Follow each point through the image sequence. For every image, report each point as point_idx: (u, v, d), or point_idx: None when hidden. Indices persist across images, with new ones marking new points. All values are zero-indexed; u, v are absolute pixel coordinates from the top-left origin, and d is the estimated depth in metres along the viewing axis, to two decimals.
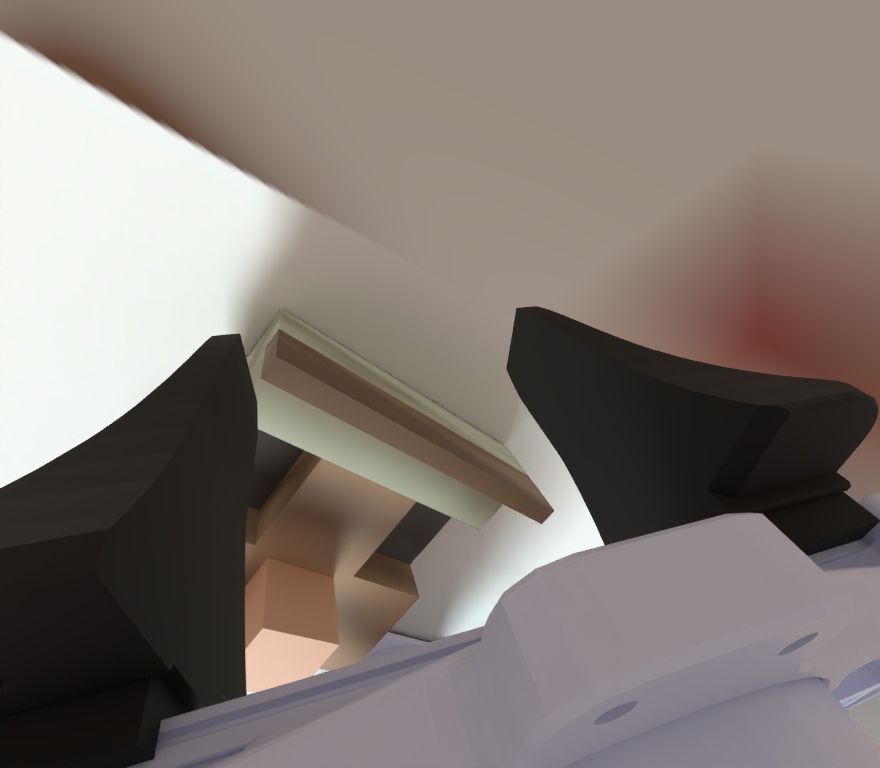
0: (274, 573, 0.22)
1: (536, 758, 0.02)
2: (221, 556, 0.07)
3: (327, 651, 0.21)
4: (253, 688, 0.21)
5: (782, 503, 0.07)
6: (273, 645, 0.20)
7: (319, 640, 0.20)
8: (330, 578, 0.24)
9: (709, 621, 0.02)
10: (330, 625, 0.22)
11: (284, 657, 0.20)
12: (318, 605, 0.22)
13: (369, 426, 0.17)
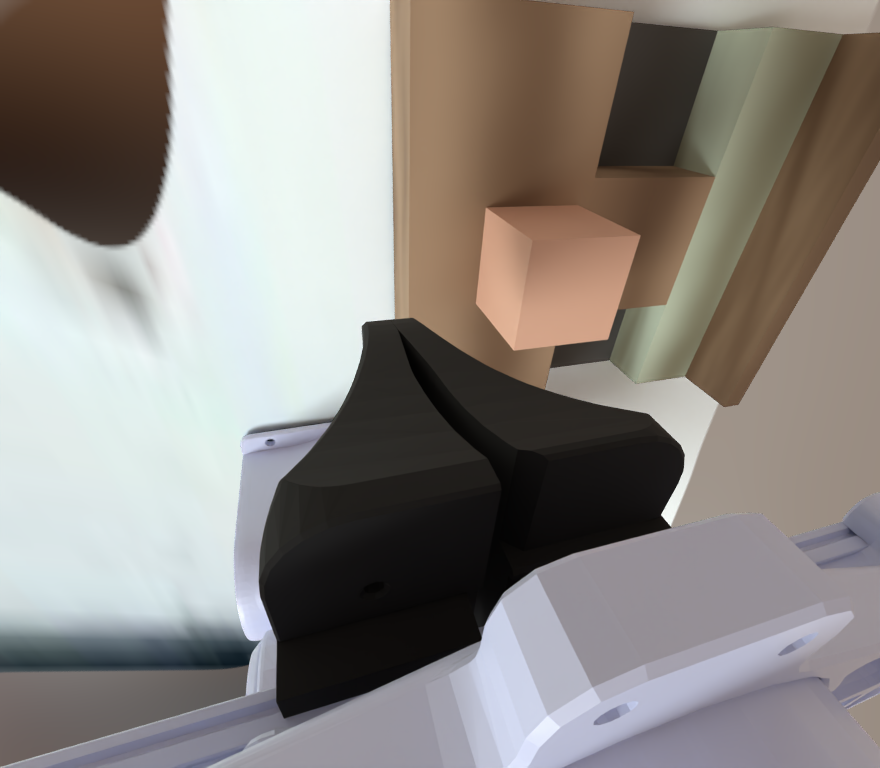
0: None
1: (536, 759, 0.02)
2: None
3: (597, 333, 0.16)
4: (529, 292, 0.14)
5: None
6: (609, 266, 0.15)
7: (615, 313, 0.16)
8: None
9: (710, 621, 0.02)
10: None
11: (588, 292, 0.15)
12: None
13: (856, 178, 0.17)
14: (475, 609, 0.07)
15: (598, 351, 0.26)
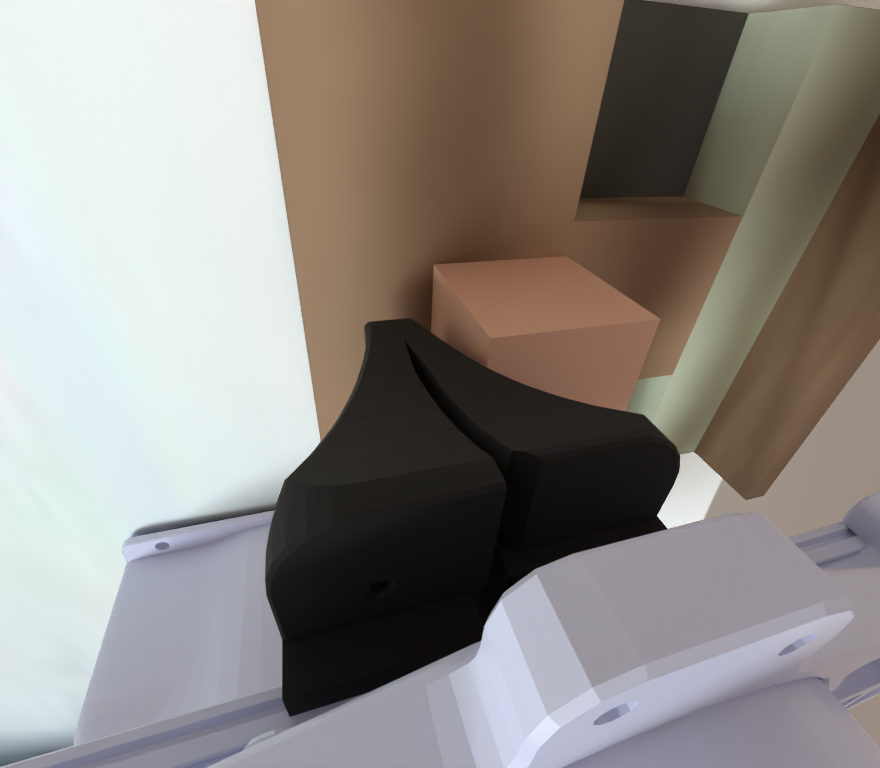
0: None
1: (536, 759, 0.02)
2: None
3: None
4: None
5: None
6: (612, 363, 0.10)
7: None
8: None
9: (709, 621, 0.02)
10: None
11: (580, 398, 0.10)
12: None
13: None
14: None
15: None
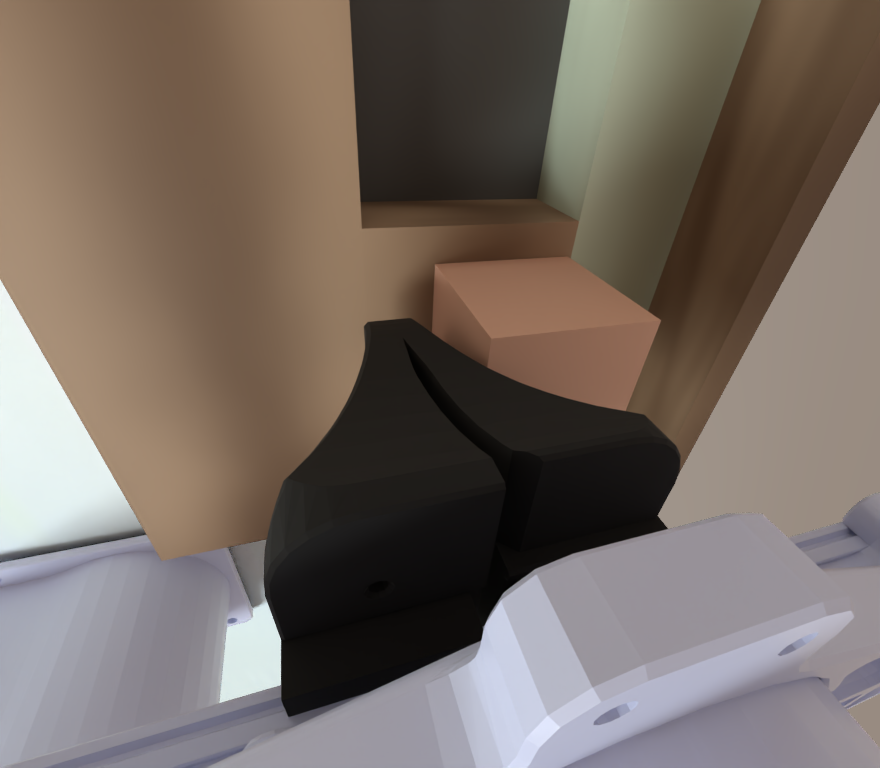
0: None
1: (534, 756, 0.02)
2: None
3: None
4: None
5: None
6: (613, 364, 0.10)
7: None
8: None
9: (709, 621, 0.02)
10: None
11: (581, 399, 0.10)
12: None
13: (789, 231, 0.10)
14: None
15: None
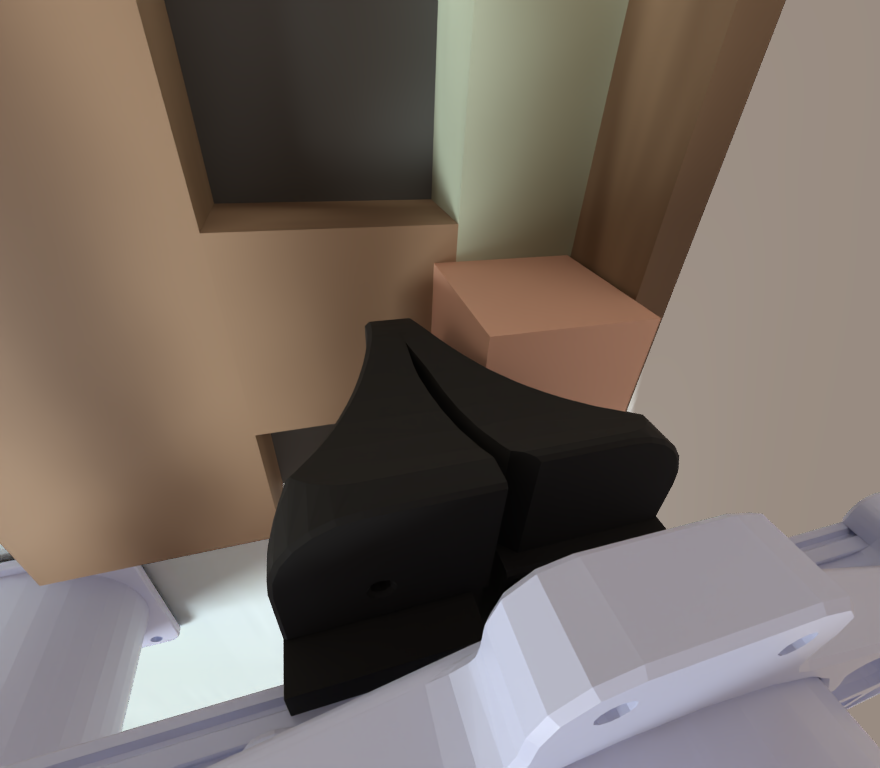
0: None
1: (534, 758, 0.02)
2: None
3: None
4: None
5: None
6: (612, 362, 0.10)
7: None
8: None
9: (709, 621, 0.02)
10: None
11: (581, 397, 0.10)
12: None
13: (669, 235, 0.09)
14: None
15: None
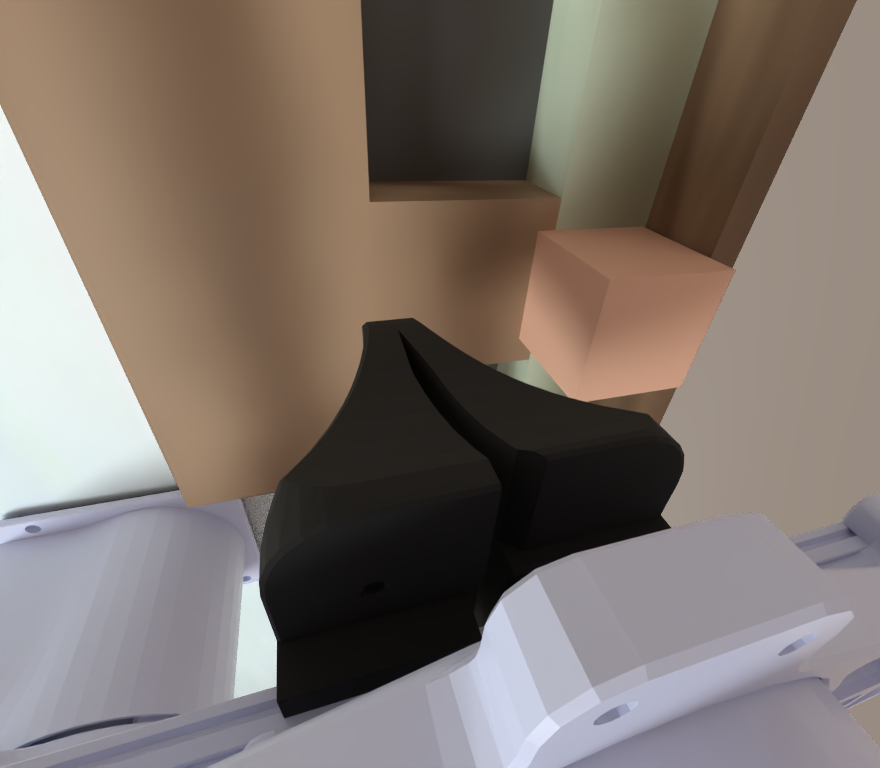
0: None
1: (536, 758, 0.02)
2: None
3: (670, 380, 0.14)
4: (599, 338, 0.12)
5: None
6: (694, 307, 0.12)
7: (693, 358, 0.14)
8: None
9: (709, 621, 0.02)
10: None
11: (666, 336, 0.13)
12: None
13: (742, 204, 0.12)
14: (475, 609, 0.07)
15: None
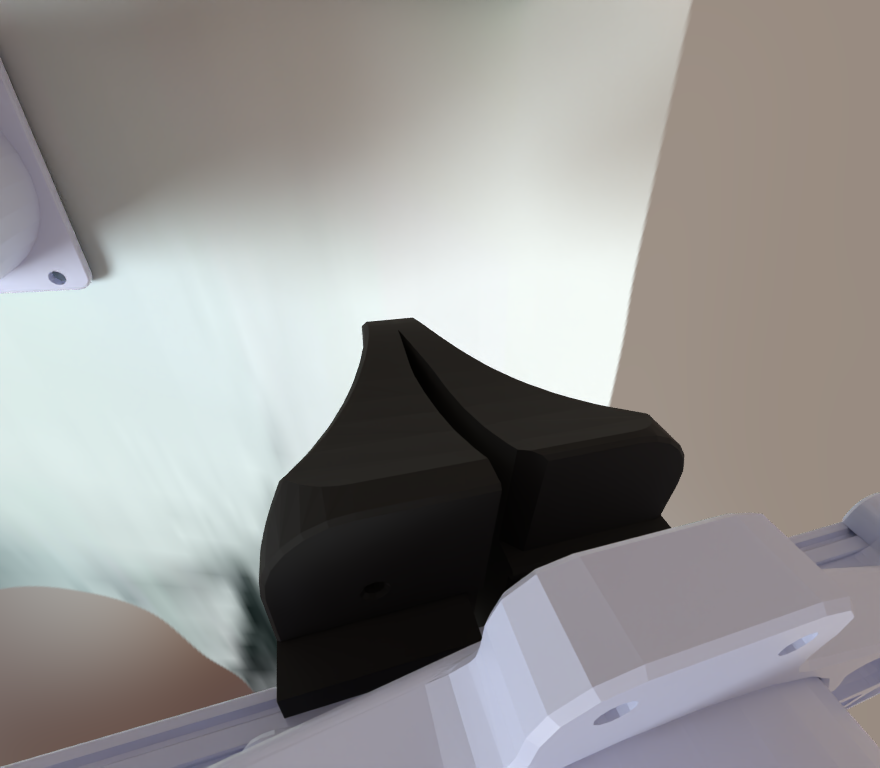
0: None
1: (534, 758, 0.02)
2: None
3: None
4: None
5: None
6: None
7: None
8: None
9: (709, 621, 0.02)
10: None
11: None
12: None
13: None
14: (475, 609, 0.07)
15: None
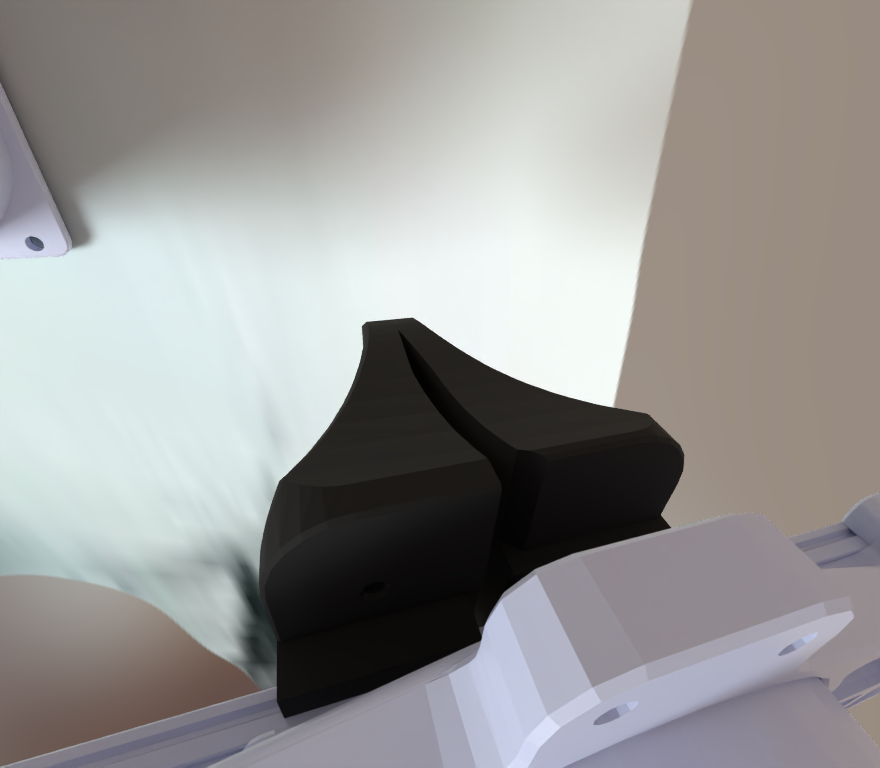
0: None
1: (534, 758, 0.02)
2: None
3: None
4: None
5: None
6: None
7: None
8: None
9: (709, 621, 0.02)
10: None
11: None
12: None
13: None
14: (475, 609, 0.07)
15: None
